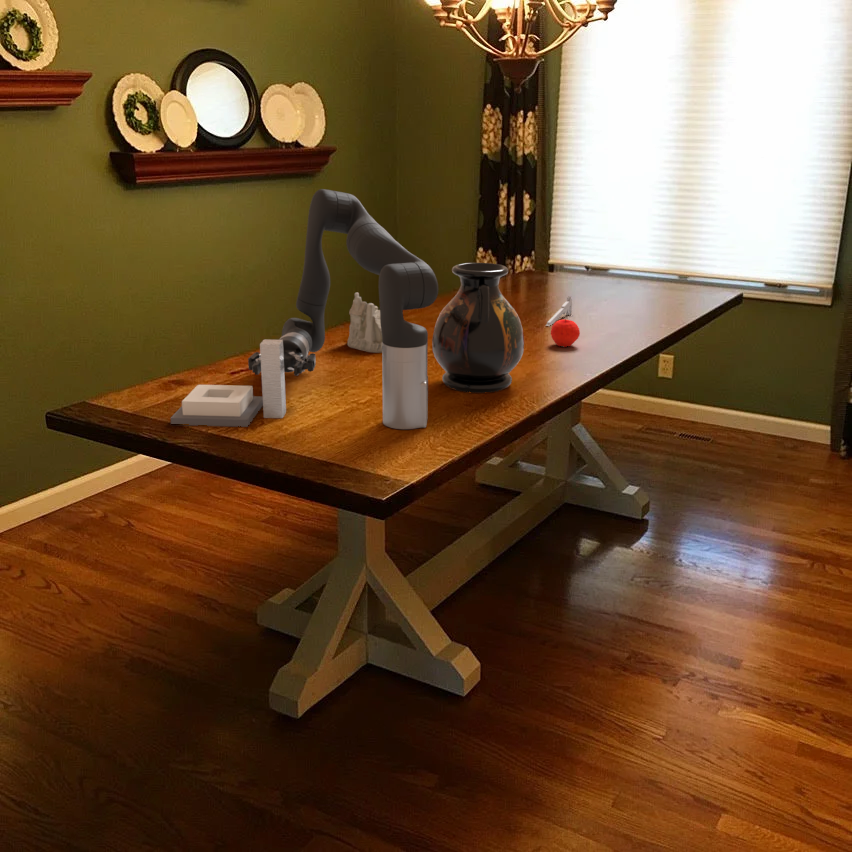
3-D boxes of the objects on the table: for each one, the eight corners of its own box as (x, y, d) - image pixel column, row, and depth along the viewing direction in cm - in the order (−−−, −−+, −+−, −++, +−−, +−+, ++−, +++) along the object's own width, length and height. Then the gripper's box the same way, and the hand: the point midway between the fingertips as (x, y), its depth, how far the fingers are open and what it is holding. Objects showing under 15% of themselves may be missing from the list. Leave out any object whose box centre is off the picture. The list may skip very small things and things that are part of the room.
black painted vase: (529, 397, 212) (535, 275, 203) (435, 399, 211) (436, 275, 202) (514, 371, 233) (519, 259, 223) (428, 372, 231) (429, 259, 222)
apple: (584, 347, 256) (586, 320, 254) (563, 351, 252) (564, 324, 250) (565, 341, 263) (566, 315, 260) (543, 344, 258) (545, 318, 256)
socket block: (264, 402, 207) (263, 383, 206) (247, 426, 192) (246, 405, 190) (193, 401, 208) (191, 381, 206) (171, 424, 193) (169, 404, 191)
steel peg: (286, 412, 201) (283, 339, 196) (282, 418, 197) (279, 344, 192) (267, 411, 201) (264, 339, 196) (263, 417, 197) (259, 344, 192)
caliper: (568, 314, 296) (569, 295, 294) (571, 315, 296) (572, 295, 294) (545, 327, 279) (546, 306, 277) (548, 328, 279) (549, 307, 277)
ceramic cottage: (372, 354, 247) (373, 297, 243) (336, 344, 259) (337, 290, 255) (417, 348, 256) (419, 294, 253) (381, 339, 269) (382, 287, 265)
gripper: (259, 335, 213) (241, 353, 198) (320, 336, 212) (308, 354, 197) (260, 366, 216) (243, 386, 200) (321, 368, 215) (309, 388, 200)
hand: (275, 370), depth 199 cm, fingers open, 8 cm apart
